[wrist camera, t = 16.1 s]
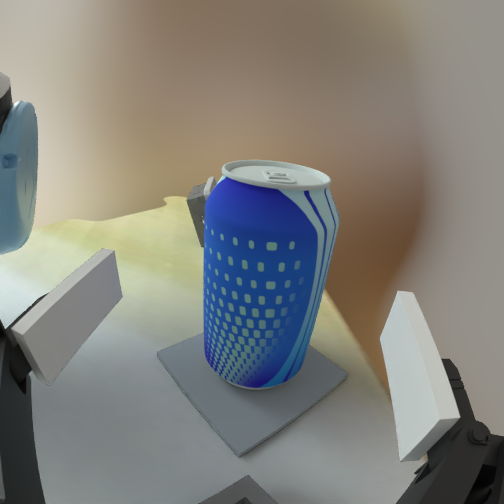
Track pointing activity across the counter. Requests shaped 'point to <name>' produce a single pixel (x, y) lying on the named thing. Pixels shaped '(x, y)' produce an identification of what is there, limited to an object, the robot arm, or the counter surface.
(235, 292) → the beer can
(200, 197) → the electrical switch
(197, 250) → the counter surface
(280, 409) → the coaster mat
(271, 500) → the grey storage bin
